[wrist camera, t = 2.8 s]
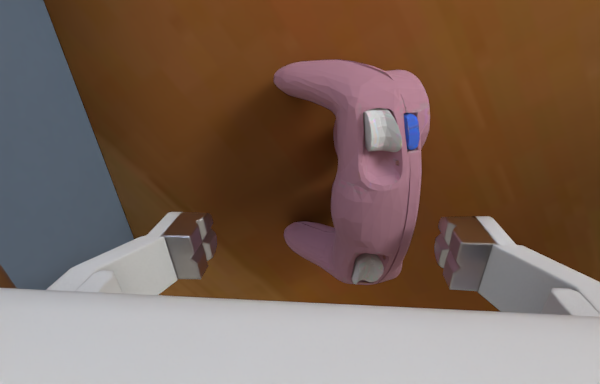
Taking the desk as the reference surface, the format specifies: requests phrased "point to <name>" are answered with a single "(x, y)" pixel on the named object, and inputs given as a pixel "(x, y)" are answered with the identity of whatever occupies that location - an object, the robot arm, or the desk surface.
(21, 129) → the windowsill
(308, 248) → the video game controller
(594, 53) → the desk surface
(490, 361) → the robot arm
